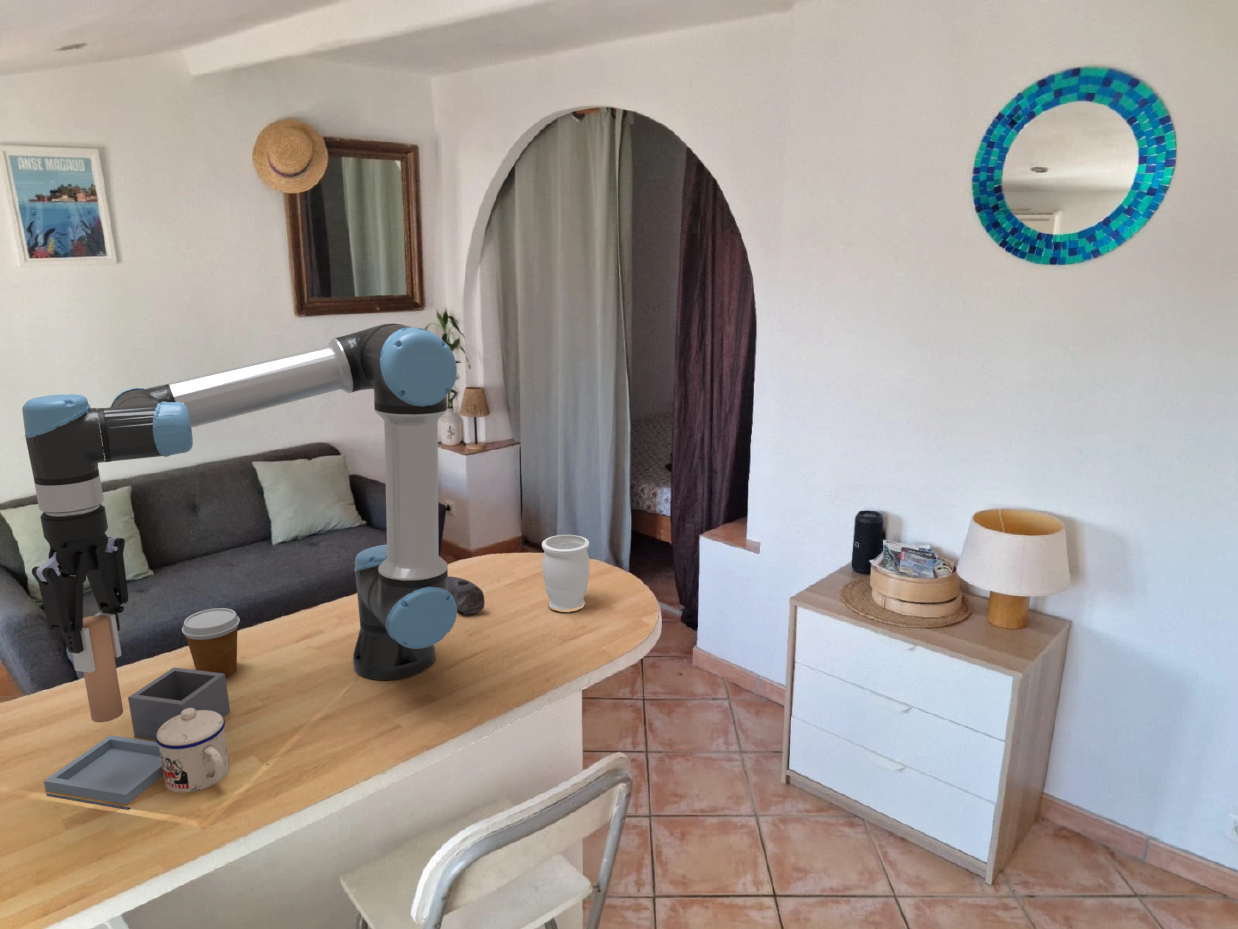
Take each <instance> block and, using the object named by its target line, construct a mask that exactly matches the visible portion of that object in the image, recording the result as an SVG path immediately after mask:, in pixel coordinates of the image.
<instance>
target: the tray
mask: <svg viewBox="0 0 1238 929" xmlns="http://www.w3.org/2000/svg"><path fill="white" fill-rule="evenodd" d="M162 777H164V775H163V768H162V762H161V756H160V750H159V744H158V743H157V742H156V741H154V740H153V741H152V740H145V739H139V738H138V739H137V738H132V737H124V736H117V735H111V734H110V735H108V736H107V737H105V738H104V739H102V740H101V741H99V742H98V743H96V744H95V745H94V746H92V747H90V748H89V749H88V750H87V751H85V752H83V753H82V754H81V755H79V756H78V757H76V758H75V759H74V760H72V761H71V762H69V763H68V764H66V765H65V766H63V767H61V769H59V770H57V771H56V772H55V773H53V774H52V775H50V776H49V777H48V778H46V779H45V780H43V785H44V789H45V791H47V792H46V793H45V794H46V797H51V798H55V799H62V800H68V801H73V802H79V803H85V804H91V805H97V806H102V807H108V808H114V809H120V810H125V811H126V810H127V811H129V810H130V809H131V807H129V806H122V805H118V804H124V805H129V804H130V803H131V802H132V801H133V800H134V799H136V798H137V797H138V796H139V795H140V794H142V793H143V792H145V791H146V790H147V789H148V788H149V787H151V786H152V785H153V784H154V783H156V782H157V781H158V780H160V779H161V778H162ZM48 792H52V793H53V792H54V793H58V794H52V793H48ZM60 794H65V795H66V796H64V795H60ZM67 795H69V796H67ZM70 795H71V796H75V797H81V798H75V797H71V796H70ZM82 798H87V799H82ZM88 799H92V800H88ZM94 799H95V800H100V801H101V802H100V801H94ZM102 801H107V802H112V803H117V804H111V803H106V802H102Z"/></svg>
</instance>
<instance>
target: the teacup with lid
mask: <svg viewBox="0 0 1238 929" xmlns="http://www.w3.org/2000/svg"><path fill="white" fill-rule="evenodd" d="M225 725H226V721H225V719H224V716H223V717H222V716H221V715H220V714H219V713H217V712H214V711H210V710H197V711H196V710H195V709H194V708H187V709H184V710H183V711H182V712H181V714H180V715H178V716H175V717H173V718H171V719H170V720H168V721H167V722H165V723H164V724H163V725H162V726H161V727H160V728H159V730H158V732H157V735H156V740H155V742H157V743H158V744H159V750H160V756H161V762H162V768H163V779H164V780H163V781H164V785H165V787H166V788H167V790H169V791H172V792H173V793H174V792H175V793H193V792H197V791H201V790H205V789H207V788H209V787H211V786H213V785H215V784H217V783H218V782H220V781H221V780H222V779H223V778H224V777H226V776H227V774H228V772H229V770H230V763H229V757H228V748H227V742H226V735H225Z"/></svg>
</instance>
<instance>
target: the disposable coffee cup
mask: <svg viewBox="0 0 1238 929" xmlns="http://www.w3.org/2000/svg"><path fill="white" fill-rule="evenodd" d="M240 620H241V619H240V616H238V614H237V612H236V611H235V610H233V609H232V608H224V607H221V608H220V607H218V608H209V609H204V610H200V611H198V612H195V613H193V614H190V615H189V616H187V617H186V619H185V620H184V621H183V625H182V628H181V633H183V635H184V636H185V637H186V642H187V644H188V647H189V648H188V649H189V651H190V655H191V658H192V662H193V666H194V668H195V670H199V671H207V672H215V673H223V674H225V677H226V679H227V678H229V677H230V678H231V677H232V676H233V675H234V674H235V673H236V672H237V666H238V627H239V624H240Z"/></svg>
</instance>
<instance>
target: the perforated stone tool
mask: <svg viewBox="0 0 1238 929" xmlns="http://www.w3.org/2000/svg"><path fill="white" fill-rule="evenodd" d="M448 592H449V593H451V595H452V596H453V597H454V600H455V603H456V606H457V612H461V613H463V614H465V615H469V614H470V615H472V614H476V613H477V614H479V612H481V611H482V610H483V609H484V607H485V594H484V591H483V590H482V589H481V588H480V587H479V586H478V585H476V584H475V583H474V582H472V581H470V580H468V579H464V578H460V577H458V576H457V577H456V576H448ZM471 613H472V614H471Z"/></svg>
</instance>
